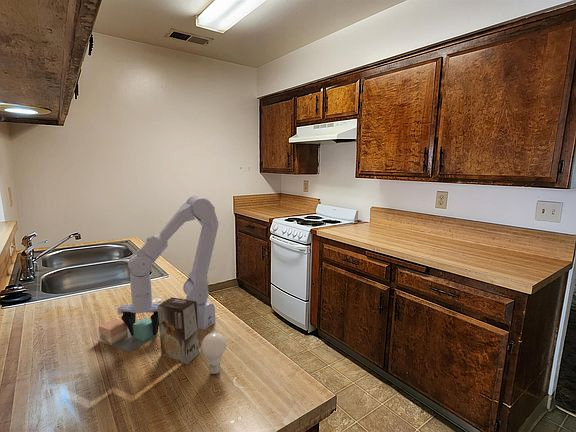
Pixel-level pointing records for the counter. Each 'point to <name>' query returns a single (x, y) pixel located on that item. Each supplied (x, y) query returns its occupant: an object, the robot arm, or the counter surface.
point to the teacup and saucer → (157, 300)
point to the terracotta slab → (112, 328)
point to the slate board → (130, 342)
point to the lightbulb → (213, 350)
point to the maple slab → (113, 338)
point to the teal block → (143, 329)
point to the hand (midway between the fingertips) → (144, 334)
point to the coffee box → (179, 329)
